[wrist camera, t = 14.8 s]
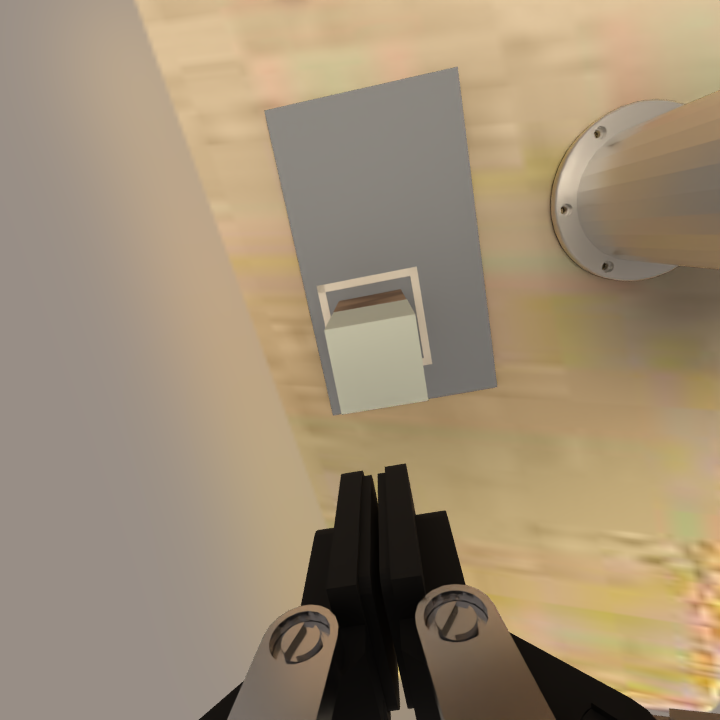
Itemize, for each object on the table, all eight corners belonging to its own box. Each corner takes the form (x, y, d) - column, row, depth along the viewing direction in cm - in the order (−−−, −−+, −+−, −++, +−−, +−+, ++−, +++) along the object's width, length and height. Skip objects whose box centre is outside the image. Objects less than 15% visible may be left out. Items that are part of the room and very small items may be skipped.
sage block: (407, 299, 30) (415, 314, 25) (418, 370, 32) (428, 400, 26) (333, 312, 31) (324, 330, 25) (347, 382, 32) (341, 414, 26)
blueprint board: (455, 70, 33) (457, 66, 32) (494, 384, 39) (497, 387, 38) (266, 113, 34) (264, 110, 33) (333, 412, 40) (332, 416, 39)
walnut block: (400, 289, 36) (406, 299, 30) (411, 349, 37) (418, 370, 32) (338, 300, 36) (332, 313, 31) (351, 360, 38) (347, 383, 32)
